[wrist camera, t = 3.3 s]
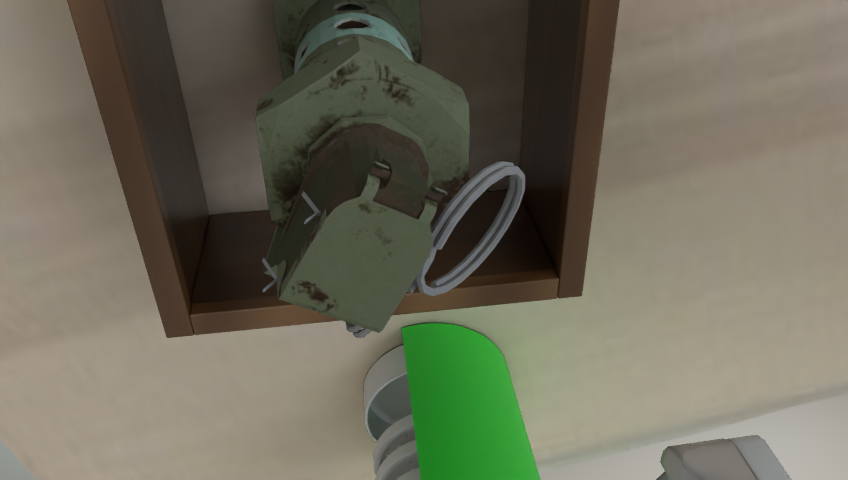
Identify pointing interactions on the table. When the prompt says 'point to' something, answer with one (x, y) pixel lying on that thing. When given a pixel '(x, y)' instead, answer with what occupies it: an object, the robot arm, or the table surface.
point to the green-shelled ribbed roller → (445, 410)
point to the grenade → (366, 162)
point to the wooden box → (253, 231)
